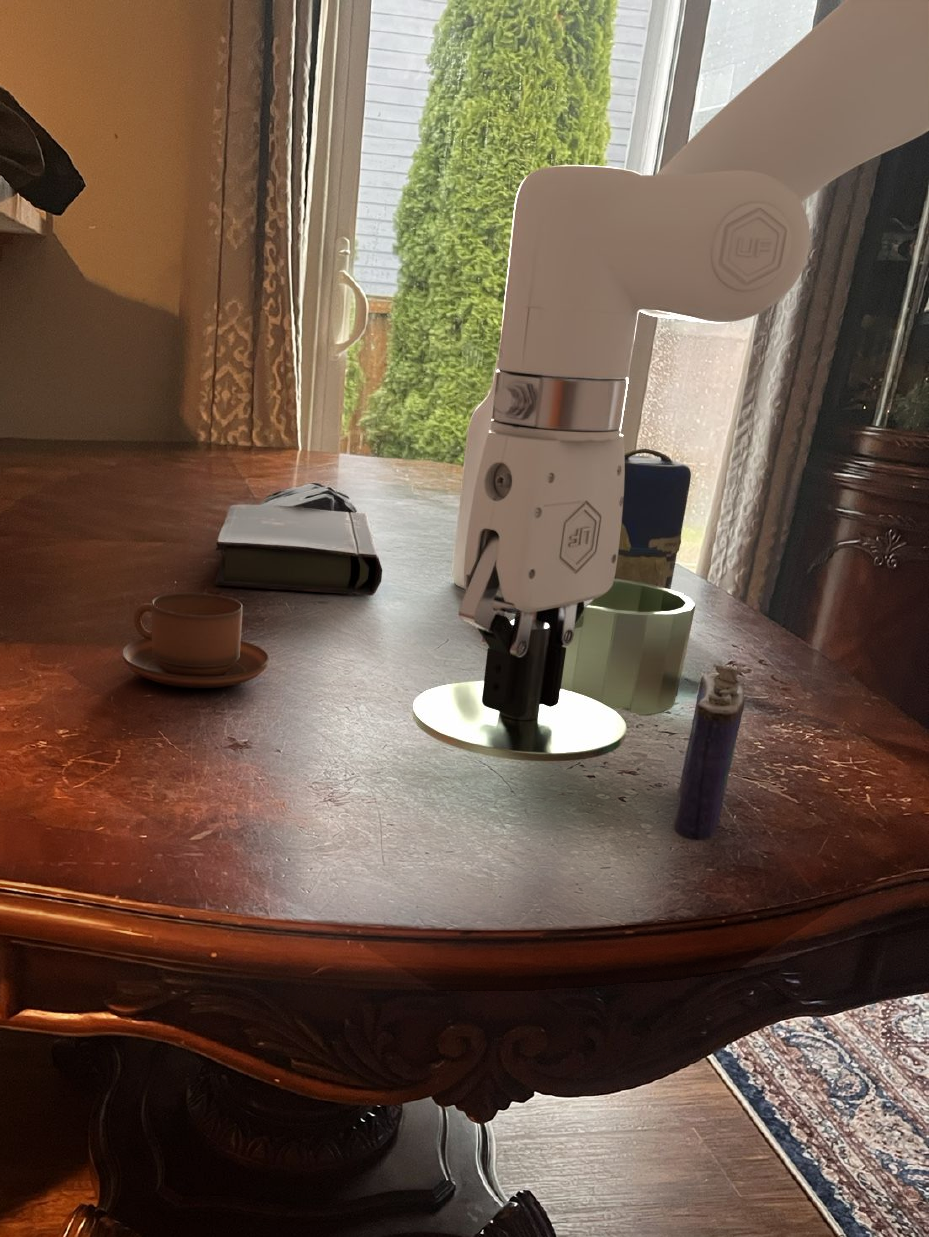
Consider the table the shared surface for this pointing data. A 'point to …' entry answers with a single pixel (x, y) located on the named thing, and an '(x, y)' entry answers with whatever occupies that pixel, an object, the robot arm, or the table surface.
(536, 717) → the lid
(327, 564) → the diary
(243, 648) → the cup and saucer
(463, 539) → the alcohol
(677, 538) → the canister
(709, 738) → the flask
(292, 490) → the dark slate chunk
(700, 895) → the table surface
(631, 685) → the pot
